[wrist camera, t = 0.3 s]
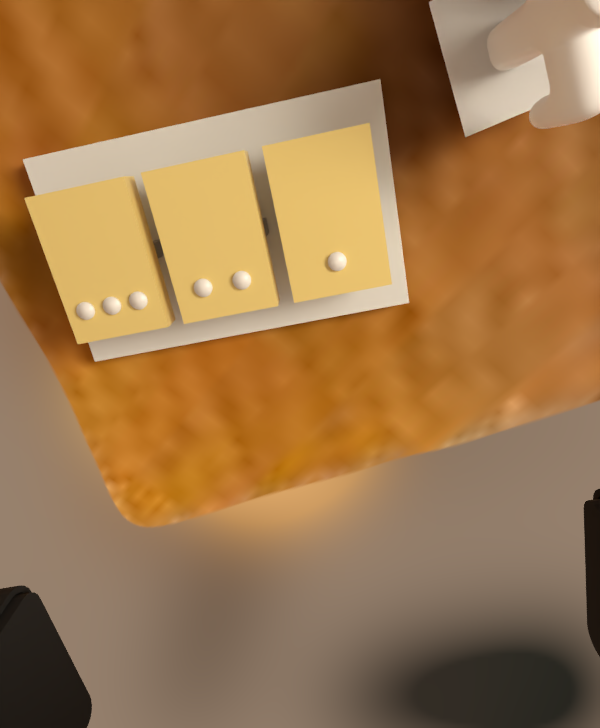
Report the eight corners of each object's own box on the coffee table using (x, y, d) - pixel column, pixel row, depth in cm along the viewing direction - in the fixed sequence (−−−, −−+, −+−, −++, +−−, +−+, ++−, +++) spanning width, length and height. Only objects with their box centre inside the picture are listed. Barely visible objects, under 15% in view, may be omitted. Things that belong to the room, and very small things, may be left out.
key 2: (149, 172, 31) (139, 172, 29) (247, 151, 30) (243, 149, 28) (190, 316, 34) (183, 324, 32) (279, 299, 33) (277, 306, 31)
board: (35, 160, 34) (3, 158, 31) (377, 83, 32) (385, 72, 29) (103, 354, 39) (82, 372, 35) (405, 297, 37) (415, 310, 34)
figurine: (454, 157, 34) (556, 146, 20) (409, 1, 31) (493, -144, 17) (564, 111, 33) (755, 65, 19) (529, -56, 30) (726, -261, 16)
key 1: (264, 147, 30) (261, 145, 28) (366, 125, 29) (370, 122, 28) (295, 296, 33) (294, 303, 31) (387, 278, 32) (392, 284, 31)
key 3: (39, 196, 31) (22, 198, 29) (133, 176, 31) (122, 176, 29) (89, 335, 34) (76, 345, 32) (175, 319, 34) (167, 327, 32)
